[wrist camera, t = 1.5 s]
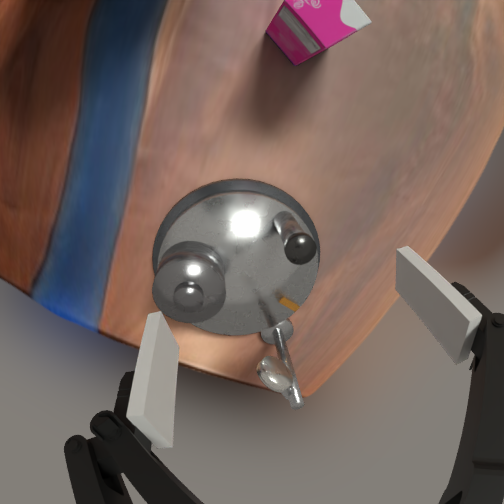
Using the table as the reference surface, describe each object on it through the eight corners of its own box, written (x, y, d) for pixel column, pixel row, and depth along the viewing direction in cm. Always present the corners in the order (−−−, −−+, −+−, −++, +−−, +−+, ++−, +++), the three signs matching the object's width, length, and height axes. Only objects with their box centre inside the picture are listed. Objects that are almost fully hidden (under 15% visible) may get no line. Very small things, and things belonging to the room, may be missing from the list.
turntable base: (126, 278, 40) (124, 282, 39) (218, 142, 34) (219, 143, 33) (251, 345, 48) (252, 350, 47) (348, 242, 42) (351, 246, 41)
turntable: (133, 282, 39) (116, 329, 30) (220, 155, 33) (223, 173, 24) (251, 345, 46) (259, 394, 37) (342, 248, 40) (374, 287, 32)
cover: (147, 277, 37) (137, 307, 31) (181, 228, 34) (175, 252, 29) (200, 308, 39) (199, 340, 34) (237, 263, 37) (242, 292, 32)
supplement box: (300, 7, 27) (335, -27, 17) (330, 44, 29) (376, 25, 19) (262, 30, 28) (283, -1, 18) (294, 67, 31) (328, 52, 20)
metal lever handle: (229, 319, 45) (238, 402, 31) (250, 296, 44) (267, 378, 30) (277, 344, 48) (298, 421, 35) (298, 324, 47) (326, 400, 33)
